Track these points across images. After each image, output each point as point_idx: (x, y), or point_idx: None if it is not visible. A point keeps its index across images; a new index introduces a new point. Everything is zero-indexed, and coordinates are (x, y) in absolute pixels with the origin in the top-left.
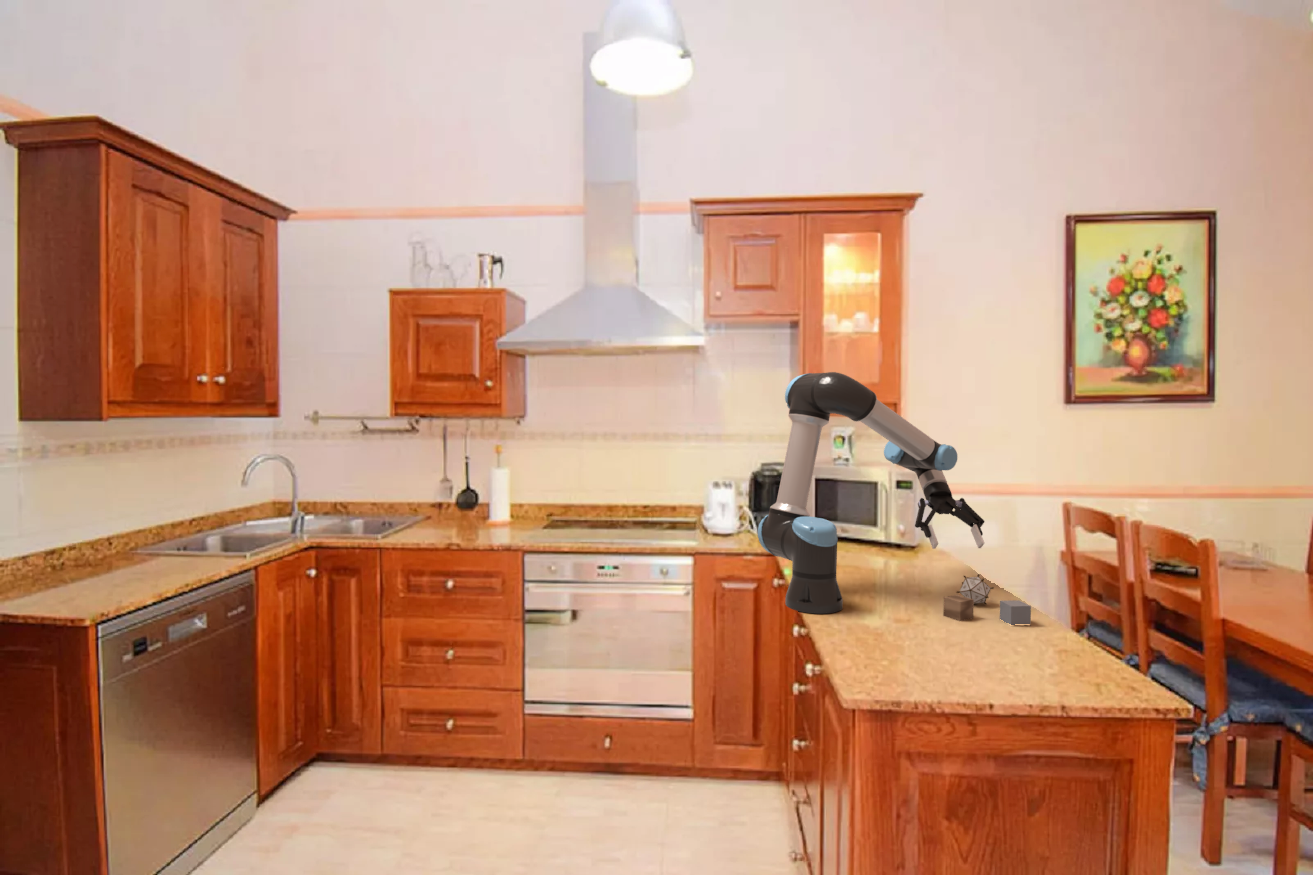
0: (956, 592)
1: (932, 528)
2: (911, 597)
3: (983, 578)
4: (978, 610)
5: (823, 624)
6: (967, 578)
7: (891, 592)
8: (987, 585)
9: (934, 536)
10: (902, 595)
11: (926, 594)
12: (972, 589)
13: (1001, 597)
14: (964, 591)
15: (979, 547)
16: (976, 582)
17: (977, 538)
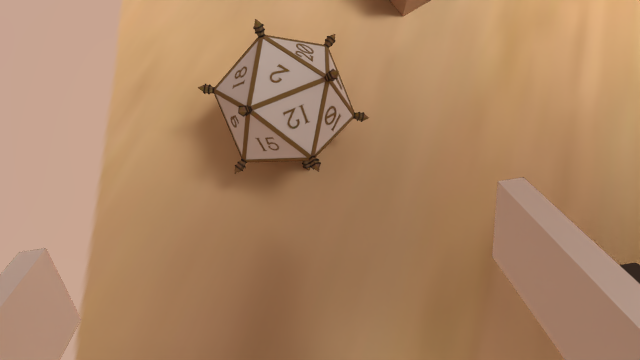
0: (366, 117)
1: (627, 310)
2: None
3: (256, 22)
4: None
5: None
6: (320, 72)
7: None
8: (233, 67)
9: (558, 224)
10: None
11: (457, 268)
12: (317, 45)
13: (122, 253)
14: (341, 82)
15: (71, 308)
16: (289, 45)
17: (21, 343)
